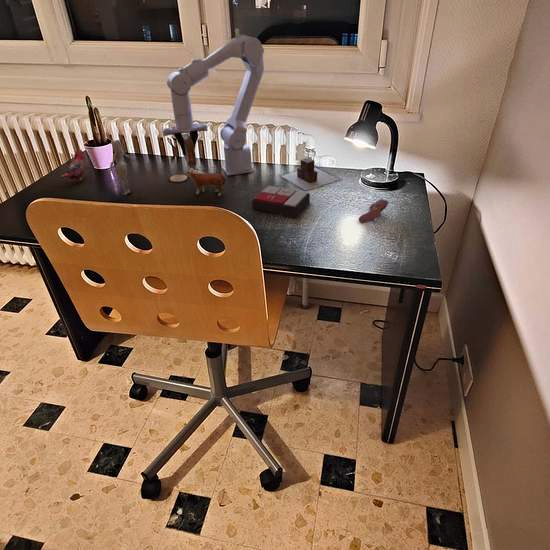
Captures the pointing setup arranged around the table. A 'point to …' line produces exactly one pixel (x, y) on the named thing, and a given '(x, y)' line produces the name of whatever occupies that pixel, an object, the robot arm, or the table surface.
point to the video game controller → (374, 211)
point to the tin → (189, 150)
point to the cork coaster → (178, 178)
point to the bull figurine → (206, 180)
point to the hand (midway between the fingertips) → (188, 154)
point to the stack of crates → (309, 176)
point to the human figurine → (120, 164)
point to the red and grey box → (281, 201)
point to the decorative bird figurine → (76, 167)
